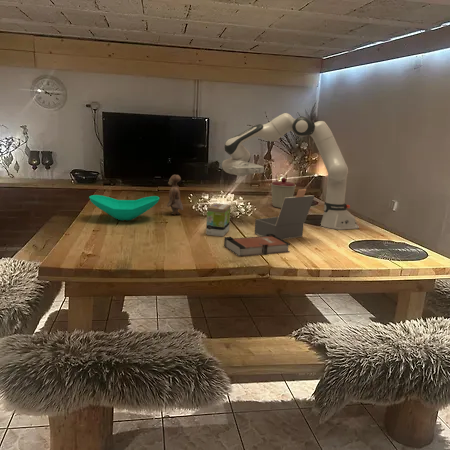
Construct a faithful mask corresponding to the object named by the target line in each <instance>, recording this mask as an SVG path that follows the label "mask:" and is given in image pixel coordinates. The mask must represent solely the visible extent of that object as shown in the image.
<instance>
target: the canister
mask: <svg viewBox="0 0 450 450" xmlns="http://www.w3.org/2000/svg"><path fill="white" fill-rule="evenodd" d="M270 185H271V202H272V203H271V205H272V206H273V207H274V208H276V209H281V207H282V204H283V201H284V198H287V197H294V194H295V189H296V187H297V185H296V184H295V182H292V181H287V179H286V177H281V178H280V180H278V181H275V180H274V181H272V182H271V183H270Z"/></svg>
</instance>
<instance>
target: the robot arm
mask: <svg viewBox="0 0 450 450" xmlns="http://www.w3.org/2000/svg"><path fill="white" fill-rule="evenodd" d="M289 132H292V133H294V134H295V135H296V136H297V137H303V138H304V137H307V136H310V137H311V138H312V139H313V141H314V144H315V146H316V148H317V150H318V152H319V155H320V158H321V160H322V162H323V164H324V166H325V169H326V172H327V182H326V191H325V201H324V204H323V214H322V218H321V221H320V224H321V225H320V226H321V227H324V228H329V229H333V230H353V229H360V228H359V227H360V226H359V225H358V224H357V223H356V218H355V216H354V215H353V214H352V213H351V212H350V211H349V210H347V209H350V208H351V205H350V204H347V203H346V201H345V200H346V191H347V181H348V174H349V168H348V165H347V163H346V161H345V158H344V156H343V153H342V152H341V149H340V146H339V145H338V143H337V140H336V138H335V136H334V134H333V132H332V130H331V128H330V127H329V126H328V124H327V123H326V121H324V120H319V121H316V122H313V121H312V120H311V119H309V118H308V117H305V116H300V117H297V118H294V117H293V116H292V115H291V114H290V113H288V112H284V113H281V114H280V115H277V116H276V117H275V118H273V119H271V121H270V120H269V122H267V123H264V124H261V123H257V124H256V125H254V126H252V127H251V128H248V129H246V130H244V131H243V132H241V133H239V134H238V135H235V136H232V137H230V138H228V139H227V140H226V141H225V142H224V148H223V149H224V151H225V152H226V153H227V154H228V156H230V157H229V158H227V159H224V160H222V162H221V168H222V170H223V171H224V172H225V173H227V174H230V175H235V176H239V177H245V176H249V175H253V174H263V173H264V172H265V167H264V166H263V165H260V164H256V163H255V162H250V160H251V157H252V155H251V153H250V151H249V150H248V149H247V147H245V146H244V145H243V143H245V142H246V141H248V140H251V139H252V138H255V137H257V138H260V139H263V140H264V141H267V142H276V141H277V140H279V139H280V138H282V137H283V136H285V135H286V134H287V133H289Z"/></svg>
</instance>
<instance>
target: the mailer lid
mask: <svg viewBox="0 0 450 450" xmlns="http://www.w3.org/2000/svg"><path fill="white" fill-rule="evenodd" d="M306 191H307V189H303V188H302V189H298V190H297V192H296V195H295V196H293V197H287V198H284V201H283V204H282V207H281V208H280V211H279V214H278V216H277V217H278V219H277V222H276V225H275V226H283V225H290V224H298V223H306V220H307V218H308V215H309V212H310V209H311V206H312V204H313V201H314V198H315V195H314V194H313V195H305V194H306V193H307V192H306Z"/></svg>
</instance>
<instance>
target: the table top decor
mask: <svg viewBox="0 0 450 450" xmlns="http://www.w3.org/2000/svg"><path fill="white" fill-rule="evenodd" d="M88 197H89V200H90V202H91V203H92V204H93V205H94V206H95V207H97V208H98V209H99V210H101V211H102V212H104V213H106V214H108V215H109V216H110V217H112V218H114V219H115V220H117V219H118V221H124V220H126V221H133V220H135V219H136V218H138V217H139V216H141V215H143V214H145V213H146V212H148V210H150V209H152V208H153V207H155V205H156V204H158V202H160V197H159V196H157V195H151V196H145V197H141V198H138V199H116V198H113V197H110V196H106V195H102V194H101V195H100V194H93V195H90V196H88ZM132 219H133V220H132Z"/></svg>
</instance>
